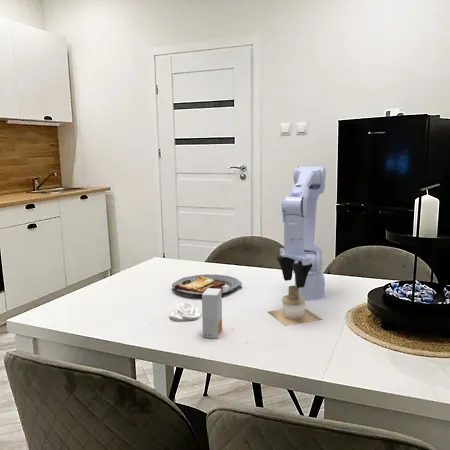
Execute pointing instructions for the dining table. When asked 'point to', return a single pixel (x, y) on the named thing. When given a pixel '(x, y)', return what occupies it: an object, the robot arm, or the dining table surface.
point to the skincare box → (212, 312)
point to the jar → (294, 311)
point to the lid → (293, 297)
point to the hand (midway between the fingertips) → (293, 283)
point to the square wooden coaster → (279, 316)
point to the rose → (185, 312)
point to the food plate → (205, 283)
